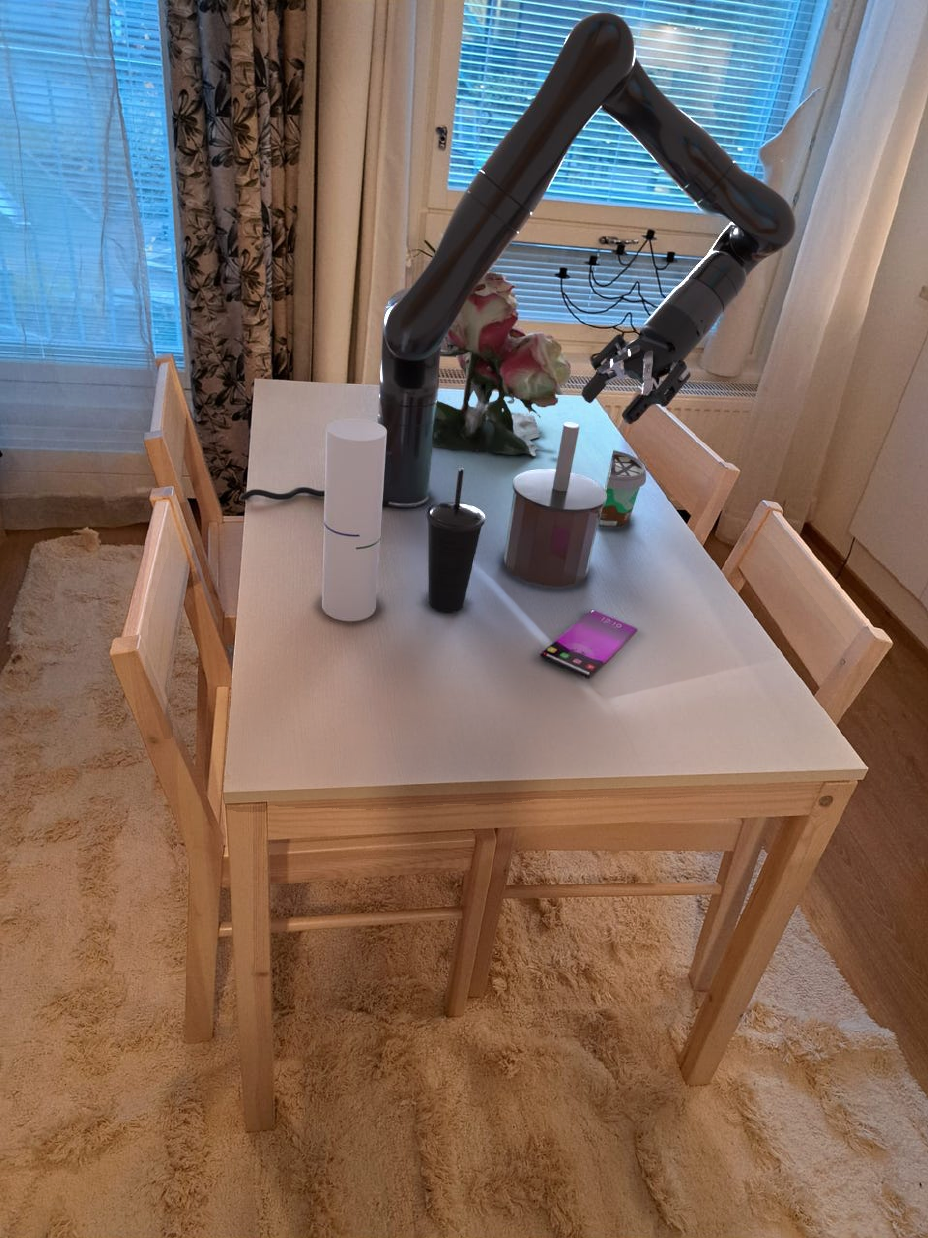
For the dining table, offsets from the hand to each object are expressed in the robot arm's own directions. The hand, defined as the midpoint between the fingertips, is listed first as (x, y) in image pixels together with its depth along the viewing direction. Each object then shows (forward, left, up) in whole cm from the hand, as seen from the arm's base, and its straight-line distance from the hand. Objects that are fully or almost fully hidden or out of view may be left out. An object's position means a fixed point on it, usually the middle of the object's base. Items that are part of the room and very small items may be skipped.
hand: (604, 409), depth 122 cm
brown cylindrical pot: (-6, -1, -24) cm, 25 cm away
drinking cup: (-25, -6, -24) cm, 35 cm away
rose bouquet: (+11, +52, -24) cm, 59 cm away
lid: (-6, -1, -12) cm, 13 cm away
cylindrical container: (-38, -3, -24) cm, 45 cm away
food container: (+15, +10, -24) cm, 31 cm away
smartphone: (-11, -21, -24) cm, 34 cm away
